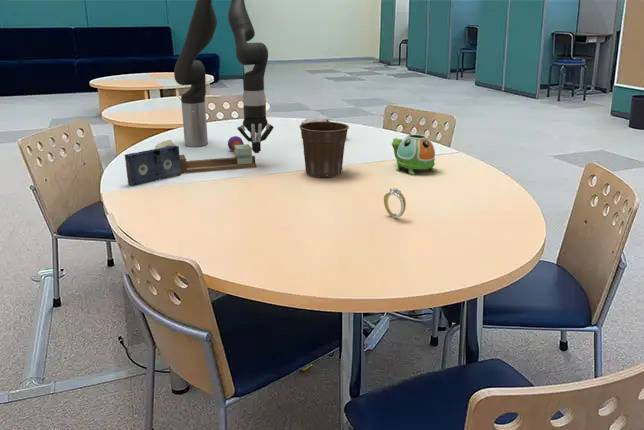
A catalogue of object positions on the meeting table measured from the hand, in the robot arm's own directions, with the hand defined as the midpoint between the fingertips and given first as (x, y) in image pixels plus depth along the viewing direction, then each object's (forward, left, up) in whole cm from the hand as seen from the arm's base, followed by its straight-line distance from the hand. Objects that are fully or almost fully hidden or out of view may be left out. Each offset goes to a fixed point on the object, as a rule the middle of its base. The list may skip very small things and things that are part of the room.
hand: (256, 152), depth 210 cm
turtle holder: (+23, +49, -5) cm, 55 cm away
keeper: (0, -5, -3) cm, 6 cm away
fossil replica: (-12, -31, -5) cm, 33 cm away
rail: (0, -14, -4) cm, 14 cm away
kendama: (-17, -4, -5) cm, 18 cm away
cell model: (-28, +34, -5) cm, 45 cm away
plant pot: (+18, +19, -5) cm, 27 cm away
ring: (+66, +23, -5) cm, 70 cm away
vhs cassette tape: (+8, -35, -5) cm, 37 cm away
